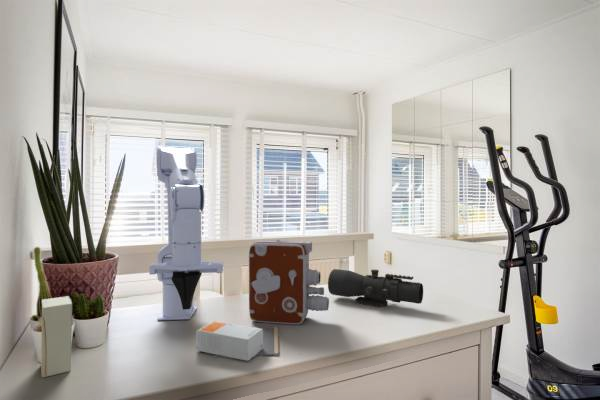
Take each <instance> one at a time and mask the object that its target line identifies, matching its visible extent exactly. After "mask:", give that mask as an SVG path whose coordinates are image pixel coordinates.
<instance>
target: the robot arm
mask: <svg viewBox="0 0 600 400" xmlns="http://www.w3.org/2000/svg"><path fill="white" fill-rule="evenodd" d="M197 155H198V154H197V151H196V149H194V148H193V147H192V148H180V147H161V146H158V147H157V148H156V160H155V161H156V162H155V163H156V176H157V180H158V181H160V182H161V183H164V185H165V188H166V192H167V193H166V195H167V196H166V197H167V239H168V240H167V242H168V243H167V244H166V245H164V246H163V247H162V248H160V250H159V251H158V253H157V260H156V261H157V262H156V263H154V262H153V263H151V264H149V266H148V267H149V272H148V273H149V275H150V276H151V275H156V278H157V280H158V281H159V282H161V283H162V313H161V314H160V315H159V316H158V317H157V321H172V320H173V321H174V320H176V321H177V320H190V319H191V318H192V316H193V315H194V313H195V312H196V311H197V309H198V306H195V305H194V300H195V299H194V294H195V292H196V288H197V285H198V283H199V281H200V278H201V276H202V274H206V273H207V274H209V273H210V274H211V273H213V274H223V272H224V262H222V261H220V262H215V261H202V212H203V211H204V207H205V191H204V185H203V184H202V183H198V181H197V176H196V170H197V162H198V160H197V159H198V158H197Z"/></svg>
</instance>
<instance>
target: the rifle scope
mask: <svg viewBox="0 0 600 400" xmlns="http://www.w3.org/2000/svg"><path fill="white" fill-rule="evenodd" d="M370 272H371V274H366V275H362V274H359V273H358V272H355V271H351V270H348V269H338V268H337V269H336V268H334V269H332V270H331V271H330V273H329V274H328V278H327V289H328V292H329V294H331V295H333V296H339V297H346V298H350V297H357V298H355V304H356V305H361V304H362V305H363V306H369V307H373V306H374V307H373V308H381V309H385V306H386V307H387V306H389V305H388V304H389V303H388V301H390V302H392V303H398V304H399V303H401V302H406V303H412V304H413V303H414V304H418V305H419V304H422V302H423V299H424V285H423V283H421V282H415V281H411V280H413V279H414V276H410V275H407V276H406V275H401V274H392V273H390V274H389V273H385V275H384V276H379V269H371V270H370ZM406 280H410V281H406Z"/></svg>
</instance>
